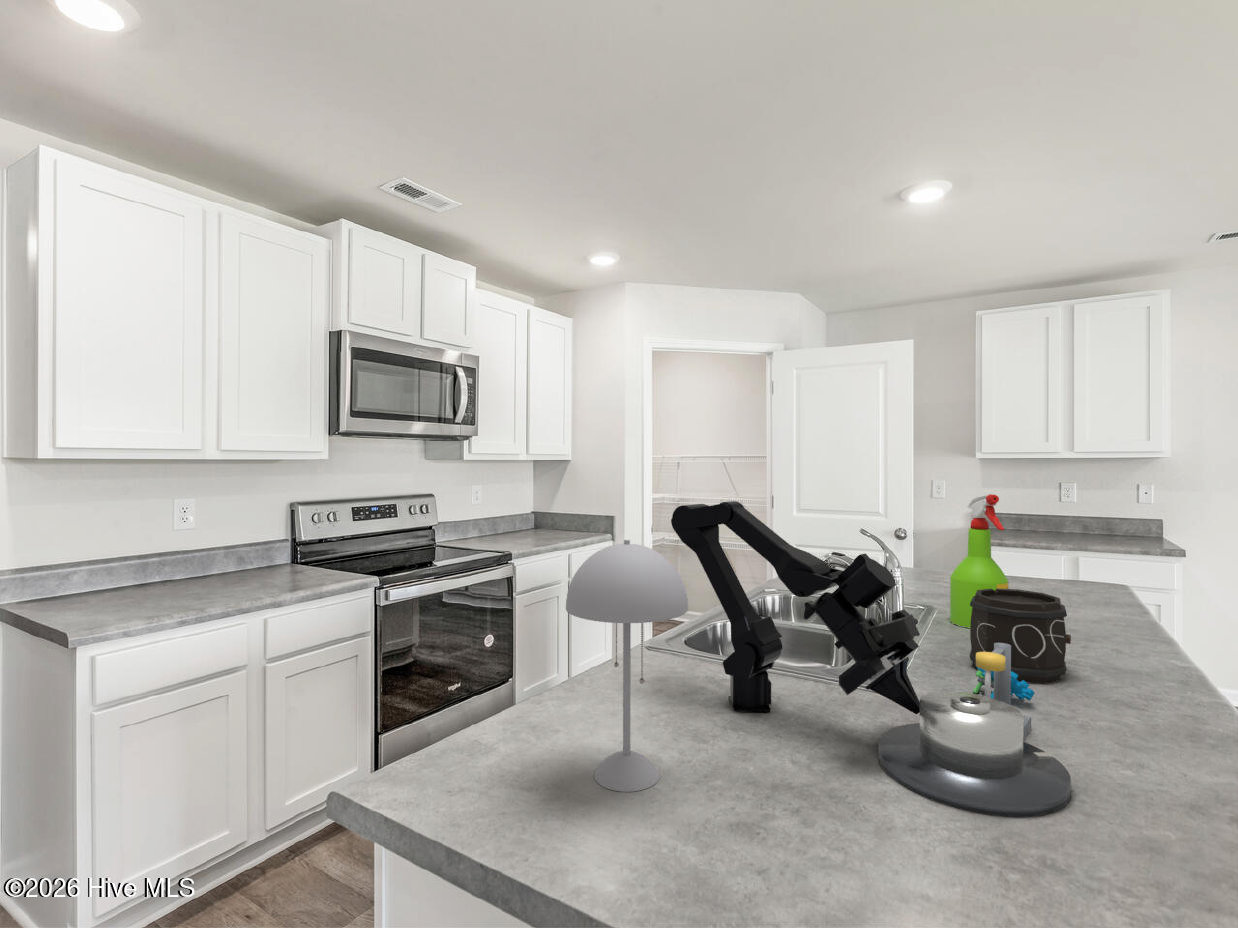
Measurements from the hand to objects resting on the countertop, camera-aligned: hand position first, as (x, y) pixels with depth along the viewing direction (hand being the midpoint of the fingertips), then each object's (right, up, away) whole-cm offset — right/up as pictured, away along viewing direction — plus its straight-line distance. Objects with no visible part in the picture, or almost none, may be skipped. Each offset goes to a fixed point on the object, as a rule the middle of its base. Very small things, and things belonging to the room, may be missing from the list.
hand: (919, 711), depth 99 cm
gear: (+26, -7, +23) cm, 35 cm away
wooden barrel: (+39, -6, +39) cm, 55 cm away
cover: (+5, -5, -4) cm, 8 cm away
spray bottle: (+51, -6, +75) cm, 91 cm away
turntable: (+5, -7, -4) cm, 9 cm away
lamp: (-44, -7, -6) cm, 45 cm away
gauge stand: (+16, -6, +7) cm, 19 cm away
